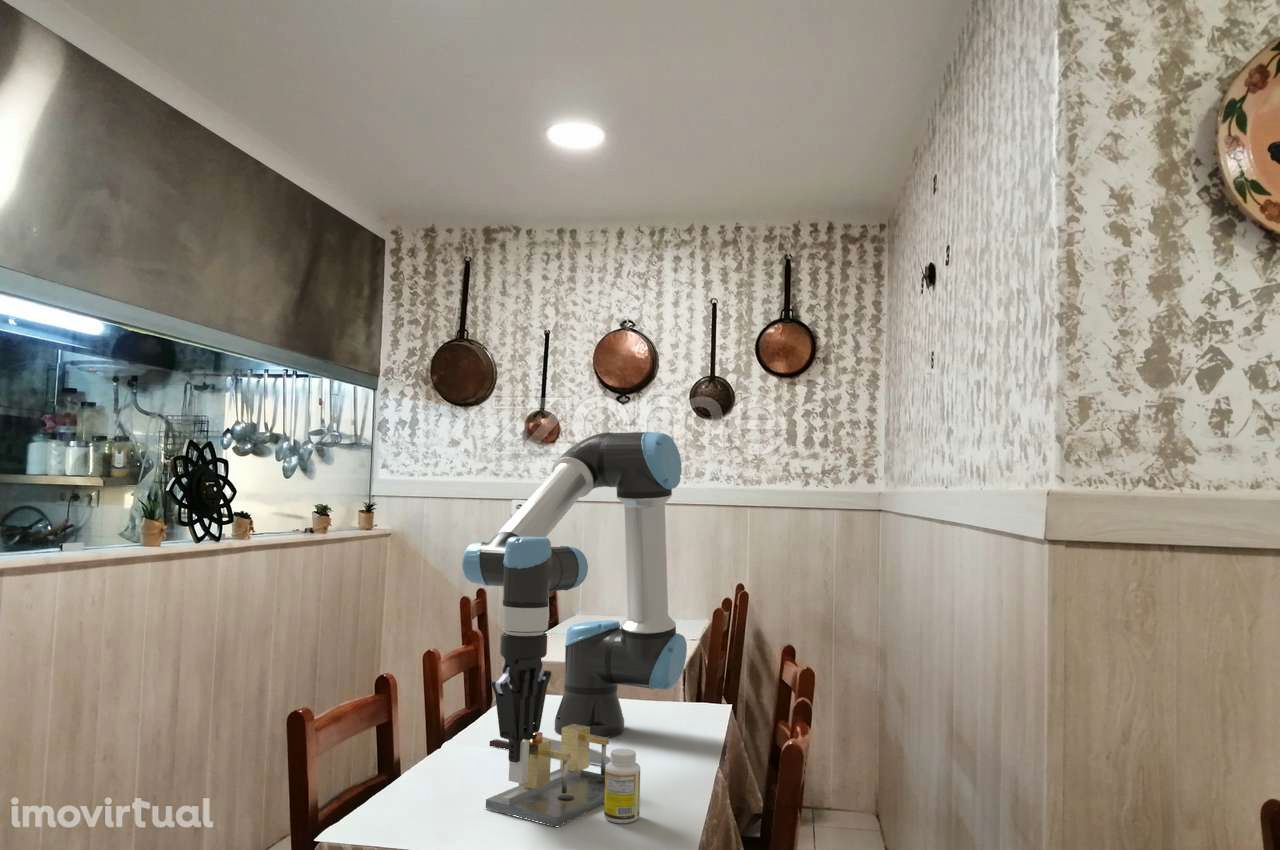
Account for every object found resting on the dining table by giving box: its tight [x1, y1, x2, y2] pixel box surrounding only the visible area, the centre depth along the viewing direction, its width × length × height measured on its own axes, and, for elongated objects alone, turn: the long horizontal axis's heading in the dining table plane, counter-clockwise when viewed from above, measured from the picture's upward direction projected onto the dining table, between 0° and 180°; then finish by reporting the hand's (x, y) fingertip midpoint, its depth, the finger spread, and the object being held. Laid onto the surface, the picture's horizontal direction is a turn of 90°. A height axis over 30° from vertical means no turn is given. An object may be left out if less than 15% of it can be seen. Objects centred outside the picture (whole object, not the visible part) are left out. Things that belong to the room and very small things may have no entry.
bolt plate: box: [485, 768, 605, 827], centre depth 148 cm, size 22×14×2 cm, turn 150°
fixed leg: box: [559, 724, 610, 776], centre depth 155 cm, size 4×8×7 cm, turn 60°
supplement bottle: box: [603, 748, 641, 824], centre depth 140 cm, size 6×6×10 cm
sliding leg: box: [518, 731, 571, 794], centre depth 145 cm, size 4×8×8 cm, turn 60°
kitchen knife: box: [489, 735, 611, 765], centre depth 172 cm, size 4×1×30 cm
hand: (518, 780), depth 143 cm, fingers closed
